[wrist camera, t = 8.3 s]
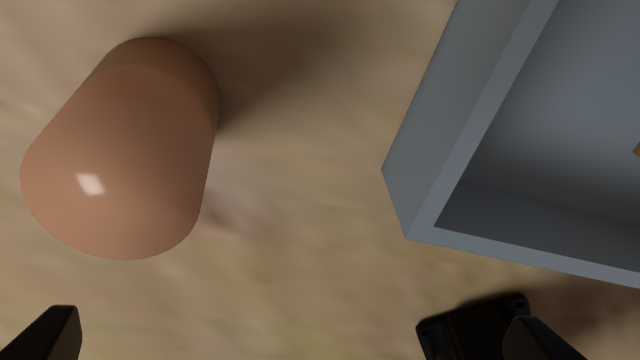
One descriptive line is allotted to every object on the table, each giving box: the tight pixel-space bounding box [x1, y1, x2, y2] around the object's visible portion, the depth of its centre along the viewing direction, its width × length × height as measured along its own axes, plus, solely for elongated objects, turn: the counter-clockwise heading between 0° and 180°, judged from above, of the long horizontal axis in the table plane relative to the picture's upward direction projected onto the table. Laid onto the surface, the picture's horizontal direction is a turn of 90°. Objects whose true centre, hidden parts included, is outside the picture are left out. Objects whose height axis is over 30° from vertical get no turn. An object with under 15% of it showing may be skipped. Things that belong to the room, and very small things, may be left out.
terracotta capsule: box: [20, 37, 221, 260], centre depth 17 cm, size 5×5×7 cm
